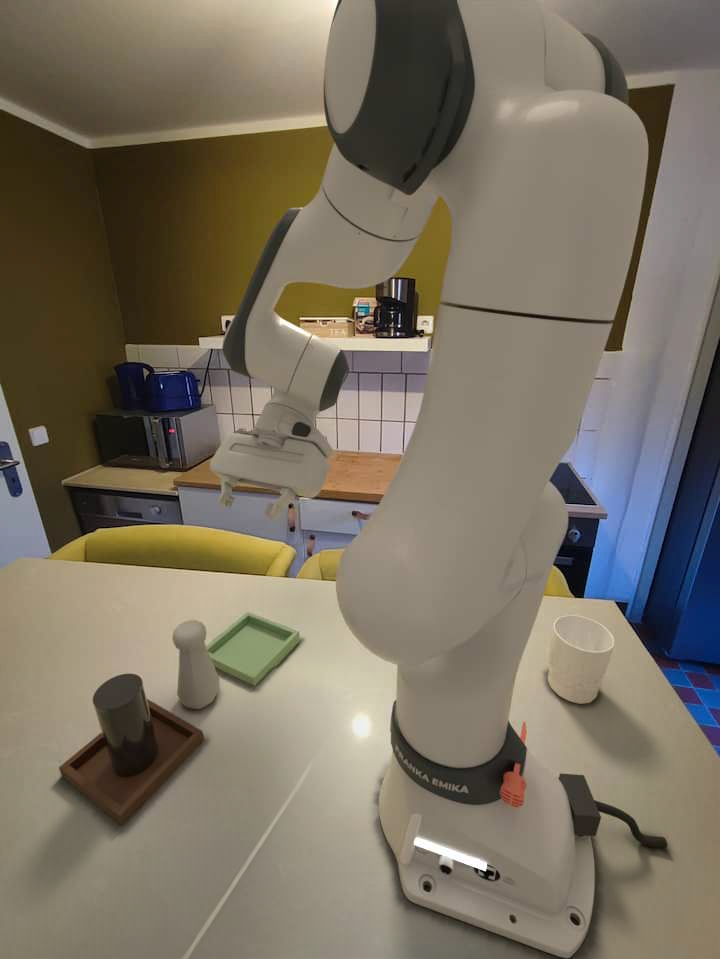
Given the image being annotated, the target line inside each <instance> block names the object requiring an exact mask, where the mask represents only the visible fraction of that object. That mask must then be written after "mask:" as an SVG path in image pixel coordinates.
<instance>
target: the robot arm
mask: <svg viewBox="0 0 720 959" xmlns="http://www.w3.org/2000/svg"><path fill="white" fill-rule="evenodd" d="M327 39H328V40H327V44H326V50H325V57H324V70H323V71H324V72H323V108H324V116H325V121H326V126H327V128H328V131H329V133H330V135H331V137H332V140H333V145H332V148H331V151H330V154H329V157H328V160H327V163H326V166H325V169H324V172H323V176H322V179H321V183H320V186H319V189H318V191H317V193H316V194H315V196H314V197H313V199H311V201H310V202H309V203H308V204H307V205H305V206H304V207H290V208H289V209H288V210H287V211H286V212H285V213H284V214H283V215H282V217H281V218H280V219H279V221H278V222H277V223H276V225H275V227H274V228H273V230H272V232H271V233H270V236H269V238H268V240H267V242H266V244H265V245H264V248H263V251H262V253H261V255H260V257H259V259H258V262H257V264H256V266H255V268H254V271H253V273H252V276H251V278H250V280H249V283H248V285H247V288H246V290H245V293H244V295H243V298H242V300H241V302H240V304H239V307H238V308H237V312H236V314H235V315H234V316H233V317H232V319H231V320H230V322H229V323H228V325H227V328H226V330H225V332H224V336H223V340H222V347H221V351H222V353H223V356H224V358H225V360H226V362H227V365H228V366H229V367H230V369H231V371H232V372H234V373H236V374H239V375H242V376H243V377H247V378H250V379H253V380H257V381H259V382H261V383H263V384H265V385H267V386H270V387H272V388H273V393H272V396H271V397H270V398H269V400H268V401H267V402H266V403H265V405H264V407H263V409H262V411H261V413H260V415H259V417H258V419H257V421H256V423H255V424H254V427H253V429H247V428H245V427H244V428H241V427H240V428H238V429H237V430H234V431H233V432H230V433H229V434H228V436H226V438H225V439H224V440H223V441H222V442H221V444H220V445H219V447H218V448H217V450H216V452H215V453H214V455H213V456H212V457H211V460H210V462H209V470H210V472H211V473H213V475H215V476H217V477H218V478H219V479H220V491H221V493H220V495H219V497H218V499H217V503H218V504H219V505H220V506H223V507H227V508H231V507H232V506H233V503H234V502H235V499H236V498H235V497H234V496H233V489H234V488H236V486H237V485H238V483H240V484H245V485H248V486H249V485H250V486H253V487H259V488H262V489H267V490H272V491H276V492H279V495H280V496H279V497H278V498H277V499H276V500H275V501H274V502H273V503H272V502H268V504H267V506H266V509H265V511H264V514H265V516H267V517H268V518H271V519H274V520H279V518H280V516H281V514H282V511H283V510H285V509H286V508H287V507H288V506H289V505H290V504H292V503H293V502H294V501H295V498H296V496H300V497H305V498H309V499H313V498H315V497H317V496H318V495H319V494H320V493H321V492H322V490H323V487H324V484H325V481H326V478H327V474H328V471H329V466H330V464H329V463H330V462H329V459H330V458H331V457H332V455H333V453H334V449H333V447H332V445H331V443H330V442H329V440H327V438H326V437H325V436H324V434H322V432H321V431H320V430H319V429H318V428H317V427H316V426H315V425H316V420H317V417H318V415H319V414H320V413H321V412H324V411H326V410H329V409H331V408H332V407H334V406H335V405H336V403H337V402H338V398H339V395H340V391H341V388H342V386H343V384H344V383H345V382H346V379H347V378H348V375H349V372H350V367H349V363H348V360H347V357H346V354H345V352H344V351H343V349H341V347H339V346H337V345H336V344H334V343H332V342H330V341H328V340H326V339H325V338H322V337H320V336H319V335H316V334H314V333H311V332H310V331H307V330H305V329H303V328H301V327H299V326H298V325H295V324H293V323H292V322H290V321H287V320H285V319H284V318H282V317H281V316H280V315H279V314H277V313H276V312H275V307H276V306H277V304H278V302H279V300H280V298H281V296H282V294H283V292H284V290H285V288H286V286H287V285H289V284H292V283H310V284H311V283H312V284H320V285H327V286H331V287H335V288H339V289H349V290H355V289H356V290H359V289H366V288H371V287H374V286H376V285H379V284H382V283H384V282H385V281H387V280H389V279H391V278H393V276H395V275H396V274H397V273H398V271H399V270H400V269H401V267H402V266H403V265H404V263H405V262H406V261H407V259H408V257H410V254H411V252H412V251H413V250H414V248H415V246H416V244H417V242H418V240H419V239H420V237H421V235H422V233H423V231H424V230H425V227H426V225H427V223H428V221H429V219H430V217H431V215H432V213H433V210H434V208H435V206H436V204H437V201H438V199H439V198H440V197H441V198H442V200H443V201H444V202H445V204H446V206H447V209H448V211H449V214H450V219H451V236H450V244H449V250H448V256H447V261H446V265H445V269H444V275H443V281H442V286H441V291H440V297H439V301H441V302H439V303H438V310H437V315H436V316H437V317H436V321H435V328H434V334H433V339H432V345H431V351H430V356H429V363H428V367H427V373H426V378H425V385H424V388H423V389H424V390H423V396H422V399H421V403H420V408H419V410H418V411H419V412H418V415H417V417H416V421H415V424H414V427H413V429H412V432H411V435H410V437H409V439H408V442H407V444H406V447H405V450H404V452H403V454H402V456H401V458H400V460H399V463H398V465H397V467H396V469H395V471H394V474H393V476H392V478H391V480H390V482H389V484H388V486H387V489H386V491H385V492H384V494H383V495H382V498H381V500H380V501H379V503H378V505H377V507H376V508H375V510H374V512H373V514H372V515H371V516H370V518H369V519H368V520H367V522H366V524H365V525H363V527H362V529H361V530H360V531H359V533H357V535H356V536H355V537H354V538H353V539H352V540H351V541H350V543H349V544H348V545H347V546H346V547H345V548H344V549H343V551H342V552H341V553H340V556H339V559H338V562H337V566H336V572H335V594H336V599H337V603H338V607H339V611H340V612H341V615H342V618H343V620H344V622H345V624H346V626H347V628H348V629H349V631H350V633H351V634H352V635H353V636H354V638H355V639H356V640H357V641H358V642H359V643H360V644H361V645H362V646H363V647H364V648H365V649H367V650H368V651H369V652H370V653H371V654H373V655H375V656H377V657H378V658H380V659H382V660H384V661H386V662H388V663H391V664H393V665H396V667H397V669H396V697H395V698H396V699H395V700H394V701H393V703H392V709H391V715H390V725H389V732H390V745H391V748H392V753H391V758H390V763H389V766H388V770H387V771H386V774H385V776H384V778H383V780H382V782H381V786H380V789H379V795H378V815H379V822H380V825H381V829H382V831H383V834H384V837H385V839H386V841H387V843H388V845H389V846H390V849H391V851H392V852H393V855H394V857H395V859H396V862H397V868H398V875H399V879H400V885H401V889H402V892H403V894H404V896H405V897H406V899H407V900H409V901H410V902H411V903H413V904H416V905H418V906H421V907H424V908H426V909H429V910H431V911H434V912H437V913H440V914H442V915H445V916H448V917H451V918H454V919H456V920H459V921H461V922H464V923H466V924H470V925H472V926H475V927H476V928H477V927H478V928H481V929H482V930H486V931H488V932H491V933H494V934H497V935H498V936H502V937H504V938H507V939H510V940H513V941H515V942H518V943H520V944H524V945H526V946H529V947H532V948H534V949H537V950H539V951H541V952H545V953H548V954H550V955H552V956H555V957H558V958H563V959H569V958H571V957H572V956H573V955H574V954H576V952H577V951H578V950H579V948H580V947H581V946H582V944H583V942H584V940H586V936H587V934H588V931H589V928H590V924H591V920H592V916H593V908H594V899H595V883H596V872H595V856H594V848H593V843H592V839H591V837H597V833H598V830H599V826H600V823H601V819H602V816H601V814H600V813H603V814H605V815H608V816H610V817H614V818H616V819H619V820H620V821H622V822H624V823H625V824H627V826H628V828H629V830H630V832H631V834H632V836H633V838H634V839H635V840H636V841H638V842H639V843H640V844H642V845H644V846H646V847H650V848H662V849H667V848H668V842H667V839H666V837H664V836H657V835H655V836H654V835H647V834H644V833H642V832H641V830H640V828H639V824H638V823H637V822H636V820H635V819H634V818H633V817H632V816H631V815H630V814H628V813H627V812H625V811H624V810H622V809H620V808H618V807H615V806H613V805H610V804H607V803H604V802H601V801H598V800H595V798H594V797H593V794H592V791H591V789H590V787H589V784H588V782H587V780H586V777H585V775H584V774H572V773H561V772H560V773H559V775H558V776H557V775H556V774H554V773H553V772H552V771H551V770H549V769H548V768H547V767H546V766H545V765H544V764H543V763H542V762H541V761H540V760H538V759H537V758H536V757H535V756H534V755H532V754H531V753H530V752H529V748H528V746H526V738H527V725H526V724H527V723H526V721H523V722H522V726H521V732H520V736H519V734H518V733H517V732H516V730H515V728H514V727H513V726H512V724H511V722H510V714H511V707H512V701H513V694H514V689H515V684H516V678H517V675H518V671H519V667H520V664H521V661H522V659H523V655H524V652H525V649H526V648H527V645H528V642H529V639H530V636H531V633H532V631H533V628H534V625H535V622H536V619H537V616H538V614H539V611H540V608H541V604H542V601H543V599H544V595H545V592H546V588H547V585H548V582H549V579H550V576H551V572H552V569H553V566H554V563H555V561H556V558H557V555H558V553H559V551H560V549H561V546H562V544H563V542H564V539H565V537H566V535H567V531H568V528H569V513H568V512H569V511H568V506H567V504H566V501H565V499H564V498H563V495H562V494H561V492H560V491H559V490H558V488H557V487H556V486H555V485H554V484H553V482H551V481H550V480H551V478H552V476H553V475H554V473H555V471H556V470H557V468H558V466H559V464H560V463H561V461H562V460H563V459H564V457H565V455H566V454H567V453H568V452H569V450H570V448H571V447H572V445H573V443H574V441H575V438H576V436H577V433H578V430H579V427H580V424H581V422H582V418H583V415H584V412H585V409H586V406H587V403H588V401H589V397H590V394H591V391H592V388H593V384H594V381H595V379H596V377H597V373H598V371H599V370H598V369H599V367H600V363H601V361H602V358H603V355H604V352H605V348H606V347H607V346H606V345H607V342H608V339H609V336H610V333H611V330H612V328H613V325H614V323H613V322H612V321H615V317H616V314H617V311H618V308H619V305H620V302H621V298H622V295H623V292H624V288H625V284H626V280H627V276H628V272H629V268H630V264H631V262H632V257H633V251H634V247H635V242H636V237H637V232H638V229H639V222H640V217H641V211H642V204H643V199H644V193H645V186H646V178H647V170H648V164H649V141H648V133H647V131H646V128H645V125H644V123H643V121H642V120H641V118H640V117H639V115H638V114H637V113H636V112H635V111H634V110H633V109H632V107H630V106H629V88H628V83H627V79H626V75H625V73H624V71H623V68H622V66H621V64H620V62H619V61H618V60H617V58H616V57H615V55H614V54H613V53H612V52H611V50H610V49H609V48H608V46H606V45H605V44H604V43H603V41H602V40H600V38H598V37H597V36H595V35H594V34H590V33H588V32H580V31H579V30H578V29H577V28H575V27H574V26H573V25H572V24H571V23H570V22H569V21H567V20H566V19H564V18H563V17H561V16H560V15H558V14H557V13H556V12H555V11H553V10H551V9H550V8H548V7H547V6H546V5H544V4H542V3H540V2H538V1H537V0H337V3H336V6H335V9H334V14H333V17H332V20H331V25H330V29H329V34H328V38H327ZM425 886H428V887H429V888H430V891H426V890H425V889H424V887H425ZM571 918H572V919H575V921H576V922H577V923H578V925H577V924H575V923H573V922H572V919H571Z"/></svg>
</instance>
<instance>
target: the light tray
mask: <svg viewBox="0 0 720 959" xmlns="http://www.w3.org/2000/svg"><path fill="white" fill-rule="evenodd" d="M300 638H301V636H300V631H299V630H296V629H294V628H291V627H289V626H285V625H283V624H282V623H281V624H280V623H279V622H275V621H273V620H270V619H268V618H265V617H262V616H260V615H258V614H254V613H252V612H249V611H247V612H246V613H244V614H243V615H242V616H240V618H238V619H237V620H236V621H234V623H232V624H231V625H230V626H228V628H226V629H225V630H223V632H221V633H220V634H219V635H218V636H216V637H215V638H214V639H213V640H212V641H211V642H209V643H208V644H207V645H206V648H207V650H208V653H209V655H210V657H211V660H212V662H213V665H214V667H215V669H218V670H220V671H222V672H225V673H227V674H229V675H231V676H233V677H235V678H237V679H239V680H241V681H243V682H245V683H247V684H250V685H251V686H254V687H256V686H257V685H258V683H260V681H261V680H263V678H265V676H266V675H267V674H268V673H269V672H270V671H271V670H272V669H273V668H274V669H275V668H277V667H278V665H279V664H280V663H281V662H283V660H284V659H285V658H286V657H287V656H288V655H289V653H291V652H292V651H293V649H294V648H296V646H297V645H298V644H299V643H300V642H301V639H300Z"/></svg>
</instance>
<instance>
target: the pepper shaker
mask: <svg viewBox="0 0 720 959" xmlns="http://www.w3.org/2000/svg"><path fill="white" fill-rule="evenodd" d="M147 699H148V698H147V694H146V689H145V685H144V681H143V679H142V678H141V676H139V675H138V674H135V673H122V674H118V675H116V676H113V677H111V678H110V679H108V680H106V681H104V682H103V683H102V684H100V685H99V687H98V688H97V689H96V690H95V691H94V694H93V696H92V704H93V707H94V711H95V715H96V718H97V721H98V724H99V727H100V731H101V732H102V735H103V738H104V742H105V745H106V748H107V752H108V755H109V759H110V762H111V765H112V769H113V771H114V773H115V774H116V775H118V776H120V777H131V776H135V775H137V774H139V773H141V772H143V771H144V770H145V769H147V768H148V767H149V766H150V765H151V764H152V763H153V761H154V760H155V758H156V756H157V753H158V744H157V740H156V736H155V732H154V728H153V723H152V719H151V715H150V711H149V707H148V702H147ZM101 732H100V733H101Z"/></svg>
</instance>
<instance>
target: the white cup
mask: <svg viewBox="0 0 720 959" xmlns="http://www.w3.org/2000/svg"><path fill="white" fill-rule="evenodd" d="M615 643H616V642H615V637H614V636H613V633H612V632H611V631H610V630H609V629H608V628H607V627H605V626H604V625H603V624H601V623H600V622H599V621H596V620H594V619H592V618H588V617H586V616H582V615H578V614H566V615H561V616H559V617H557V618H556V619H555V620H554V621H553V624H552V633H551V641H550V648H549V658H548V665H549V666H548V674H547V682H548V684H549V686H550V688H551V689H552V691H554V693H556V695H557V696H559V697H560V698H562V699H564V700H566V701H568V702H570V703H574V704H580V705H582V704H583V705H584V704H590V703H592V702H593V701H594V700H595V699H597V696H598V693H599V689H600V686H601V685H602V683H603V681H604V677H605V674H606V671H607V670H608V666H609V662H610V660H611V656H612V652H613V649H614V647H615Z"/></svg>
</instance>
